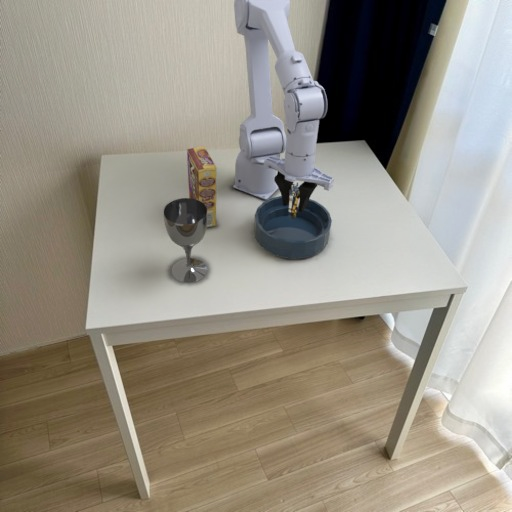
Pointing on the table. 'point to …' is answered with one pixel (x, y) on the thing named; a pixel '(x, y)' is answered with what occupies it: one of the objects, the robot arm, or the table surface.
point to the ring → (296, 205)
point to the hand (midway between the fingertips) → (294, 206)
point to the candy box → (202, 180)
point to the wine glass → (186, 235)
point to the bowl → (292, 228)
